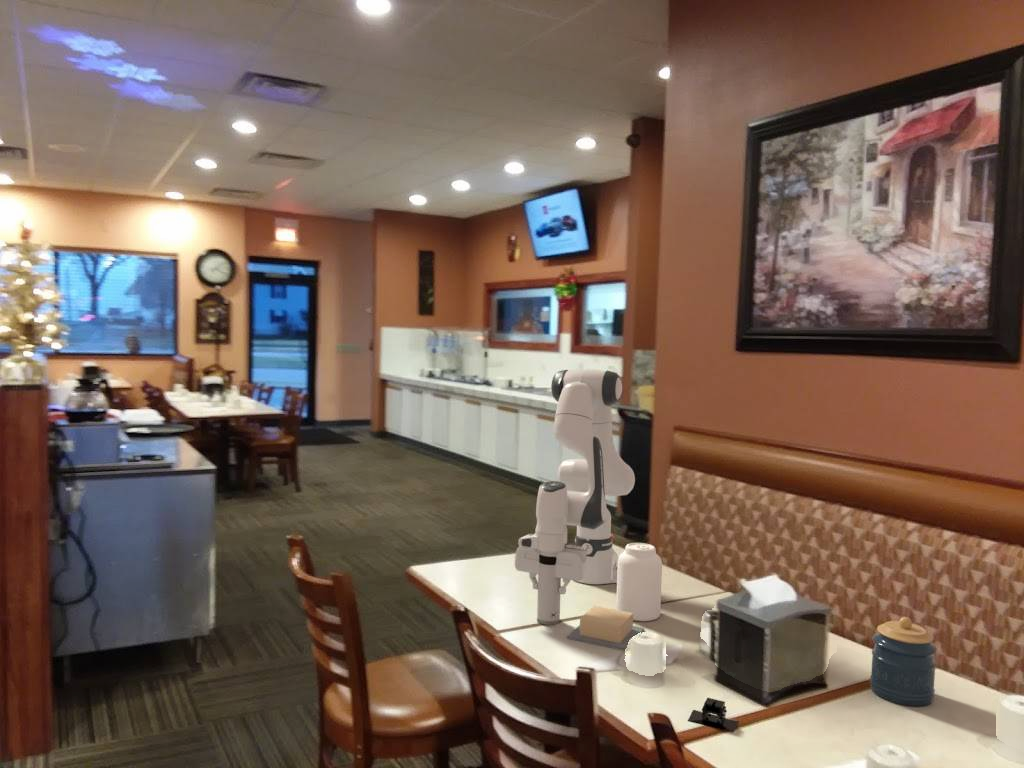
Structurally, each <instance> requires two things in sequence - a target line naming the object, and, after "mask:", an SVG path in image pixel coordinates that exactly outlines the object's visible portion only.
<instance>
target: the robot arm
mask: <svg viewBox="0 0 1024 768" xmlns="http://www.w3.org/2000/svg"><path fill="white" fill-rule="evenodd" d="M550 390H551V394H552V398H553V399H554V400H555V401H556V402H557V406H556V410H555V415H554V422H553V433H554V436H555V438H556V440H557V442H558V443H559V444H560V445H562V446H563V447H564V448H566V449H568V450H570V451H571V452H573V453H576V454H578V455H579V456H581V457H583V458H571V459H564V460H563V462H562V463H560V465H559V467H558V469H557V480H556V481H555V480H550V481H545V482H543V483H541V484H540V485H539V487H538V492H537V498H536V505H535V506H536V507H535V508H536V509H535V516H536V527H535V529H534V530H535V532H534V533H528V534H526V535H524V536H522V537H519V539H518V543H517V544H518V547H517V549H516V550H515V556H514V557H515V558H514V568H515V569H516V571H518V572H525V573H529V574H528V576H529V579H530V580H531V583H532V590H537V591H538V578H537V577H536V576H538V574H539V565H540V564H539V555H540V554H541V555H543V556H549V557H556V558H557V561H556V563H555V565H556V566H555V577H557V578H561V579H562V582H563V585H561V587H559V594H560V595H565V594H566V592H567V587H568V585H569V584H570V582H571V581H575V582H577V583H581V584H586V585H605V584H606V585H607V584H617V570H618V559H619V554H618V552H616V551H615V549H614V548H613V540H614V537H615V535H614V534H613V533H611V532H612V529H611V528H612V515H611V512H610V511H609V508H607V502H606V496H608V497H611V496H612V497H621V496H627V495H628V494H630V493H631V491H633V489H634V486H635V482H636V477H635V473H634V470H633V468H631V466H630V465H629V464H628V463H626V462H625V461H624V460H623V459H622V457H621V456H620V454H619V453H618V451H617V449H616V446H615V443H614V438H613V415H612V414H613V413H612V412H613V411H612V406H613V405H615V404H617V403H618V402H619V400H620V399H621V395H622V393H623V383H622V379H621V376H620V375H619V374H618V372H615V371H612V370H600V369H589V368H586V369H571V370H568V369H563V370H558V371H557V372H556V373H555V374H554V375H553V377H552V380H551V389H550ZM567 526H573V527H576V534H575V538H574V544H570V543H568V527H567Z"/></svg>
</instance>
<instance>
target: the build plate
mask: <svg viewBox="0 0 1024 768" xmlns="http://www.w3.org/2000/svg"><path fill="white" fill-rule="evenodd" d="M725 705H726V701H723V700H720V699H716V698H710V697H707V698H706V700H705V701H704V703H703V706H702V708H701V711H700V710H696V709H693V710H692V712H691V714H690V716H689V717H688V719H687V722H689V723H694V724H697V725H701V726H705V727H709V728H713V729H716V730H721V731H725V732H728V733H735V731H736V729H737V727H738V725H739V724H740V720H735V719H731V718H726V716H727V715H726V714H727V713H728V711H727V706H725Z"/></svg>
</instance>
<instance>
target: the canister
mask: <svg viewBox="0 0 1024 768" xmlns="http://www.w3.org/2000/svg"><path fill="white" fill-rule="evenodd" d="M876 629H877V631H878V632H876V633H875V634H873V635H872V641H873V643H874V647H873V649H872V650H871V654H872V656H871V657H872V659H871V673H870V674H871V675H870V677H869V679H870V680H869V682H870V688H871V691H872V692H873V693H874V694H875V695H877V696H879V697H880V698H882V699H884V700H886V701H888V702H891V703H895V704H899V705H903V706H909V707H910V706H911V707H923V706H928V705H930V704H932V702H933V700H934V697H935V678H936V677H935V676H936V675H935V674H936V668H937V662H936V660H935V654H936V653H937V651H938V648H937V645H935V644H934V643H933V641H934V636H933V635H932V633H930V632H929V631H927V630H926V628H924V627H922V626H920V625H918V624H915V623H913V622H912V620H911V619H910V618H909V617H907V616H902V617H901V618H900V619H899V620H890V621H886V622H884V623H881V624H879V625H878V626H877V627H876Z"/></svg>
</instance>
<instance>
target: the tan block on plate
mask: <svg viewBox="0 0 1024 768" xmlns="http://www.w3.org/2000/svg"><path fill="white" fill-rule="evenodd" d="M633 624H634V620H633V613H630V612H624V611H619V610H616V609H615V608H614V609H613V608H608V607H602V606H598V605H597V606H596V605H594V606H592V608H590V609H589V610H588V611H587V612H586V613H584V614H583V615H582V616H581V617H580V618H579V625H578V626H577V627H575V629H573V630H572V631H571V632H570V633H569V634H568V635H567V637H566V639H569V640H573V641H577V642H583V643H587V644H592V645H596V646H602V647H606V648H611V649H616V650H620V651H625V649H626V648H627V645H628V642H629V640H630V639H631V638H632V637H633V636H635V635H637V634H638V633H640V632H642V633H643V632H644V631H645V628H644V627H641V626H636V625H633Z"/></svg>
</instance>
